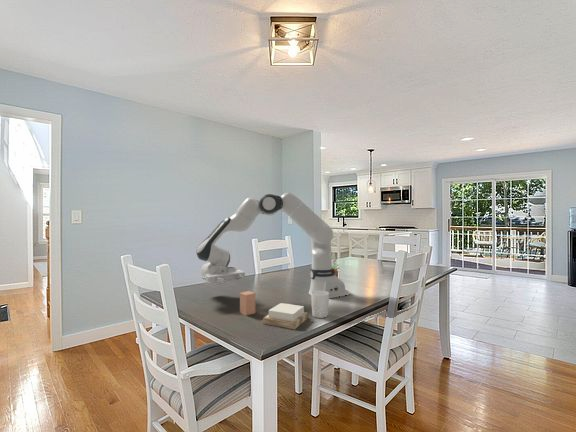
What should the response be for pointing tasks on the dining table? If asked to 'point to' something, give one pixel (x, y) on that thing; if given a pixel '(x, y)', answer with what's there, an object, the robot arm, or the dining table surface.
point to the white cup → (320, 303)
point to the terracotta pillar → (247, 303)
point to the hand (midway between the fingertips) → (233, 279)
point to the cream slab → (286, 312)
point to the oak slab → (285, 323)
